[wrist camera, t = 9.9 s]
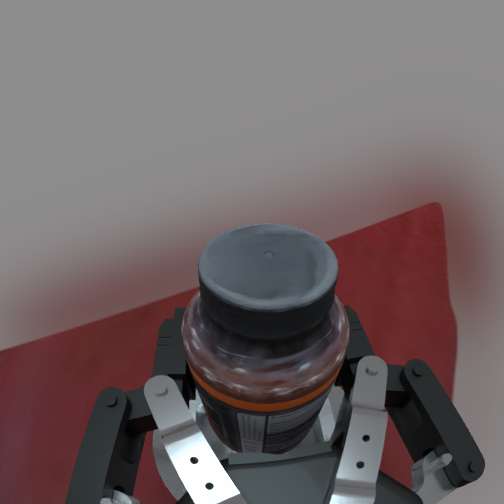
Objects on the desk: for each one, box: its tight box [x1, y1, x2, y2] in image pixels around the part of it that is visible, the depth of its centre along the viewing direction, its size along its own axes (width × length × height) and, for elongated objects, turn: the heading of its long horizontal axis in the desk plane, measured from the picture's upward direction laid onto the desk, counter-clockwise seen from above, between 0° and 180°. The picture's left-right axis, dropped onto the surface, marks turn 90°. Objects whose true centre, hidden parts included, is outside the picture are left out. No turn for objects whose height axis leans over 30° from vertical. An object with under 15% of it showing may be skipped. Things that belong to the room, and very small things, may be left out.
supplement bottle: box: [181, 223, 350, 455], centre depth 11 cm, size 6×6×11 cm
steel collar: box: [153, 384, 343, 500], centre depth 17 cm, size 16×16×4 cm
